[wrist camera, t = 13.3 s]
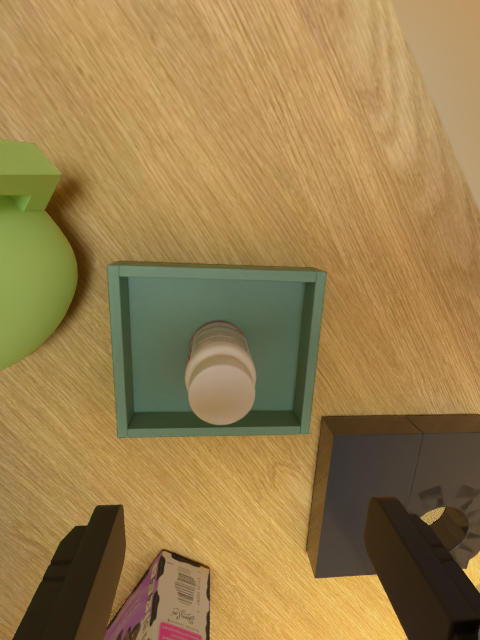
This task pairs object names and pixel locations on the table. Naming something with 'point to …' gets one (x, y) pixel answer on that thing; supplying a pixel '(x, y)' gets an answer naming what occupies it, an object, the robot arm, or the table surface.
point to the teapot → (30, 253)
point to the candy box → (166, 604)
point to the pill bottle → (220, 374)
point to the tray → (190, 314)
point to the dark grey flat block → (393, 484)
